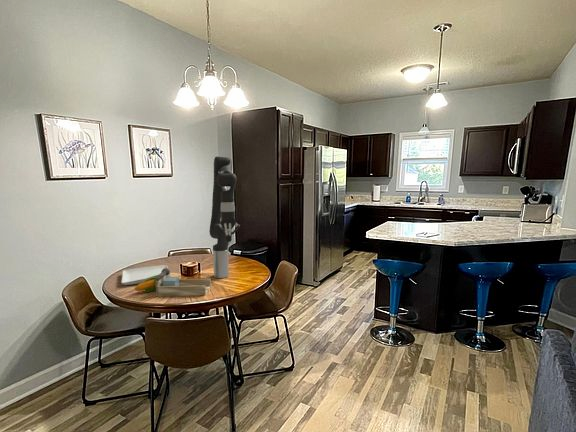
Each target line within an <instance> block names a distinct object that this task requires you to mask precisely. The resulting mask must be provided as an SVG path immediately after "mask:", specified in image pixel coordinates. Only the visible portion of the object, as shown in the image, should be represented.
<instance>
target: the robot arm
mask: <svg viewBox="0 0 576 432" xmlns="http://www.w3.org/2000/svg"><path fill="white" fill-rule="evenodd" d="M232 170H233V161H232V159H231V158H230V157H227V156H226V157H225V156H214V159H213V186H212V188H213V189H212V202H211V203H212V205H211V218H210V223H209V236H210V238H213V239H217V243H215V244H213V246H212V258H213V259H212V260H213V277H214V278H215V279H225V278H228V277H229V275H230V274H229V273H230V271H229V267H230V266H229V244H230V243H231V242H232V240H233V238H232V237H233V235H234V234H235V233H236V232H237V231H238V229H239V228H240V226H241V224H238V223H237V221H236V206H235V189H236V185H237V181H238V178H237V176H236V174H235V173H233V171H232ZM226 187H229V189H226ZM234 227H235V228H234ZM233 228H234V229H233Z"/></svg>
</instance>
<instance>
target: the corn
mask: <svg viewBox="0 0 576 432" xmlns="http://www.w3.org/2000/svg"><path fill="white" fill-rule="evenodd" d="M156 276H158V275H155V276H152V277H149V278H146V279H144V280H146V281H144V282H142V283H139V284H136V286H134V288H133V290H135V291H137V292H140V291H142V293H149V292H153V291H156V283H155V281H156V280H155V278H154V277H156ZM150 278H152V279H150ZM147 279H149V280H147Z"/></svg>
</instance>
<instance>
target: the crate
mask: <svg viewBox="0 0 576 432" xmlns="http://www.w3.org/2000/svg"><path fill="white" fill-rule="evenodd" d="M179 279H180V277H179V276H170V277H167V278H165V279H164V280H163V281H162V283H163V286H179Z"/></svg>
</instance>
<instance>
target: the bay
mask: <svg viewBox="0 0 576 432" xmlns="http://www.w3.org/2000/svg"><path fill="white" fill-rule="evenodd" d="M170 273H171V271H170V269H169V267H168V268H164V269H163V270H162V273H160V274H159V275H158V276H156V277H155V280H156V281H155V283H156V290H155V296H156V297H174V296H176V297H177V296H179V297H181V296H187V297H188V296H189V297H190V296H206V295H207V294H208V292H209V291H210V289H211V287H212V280H211V279H212V278H179V286H163V283H162V281H163V280H164V279H165V278H167V275H169V274H170Z"/></svg>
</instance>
